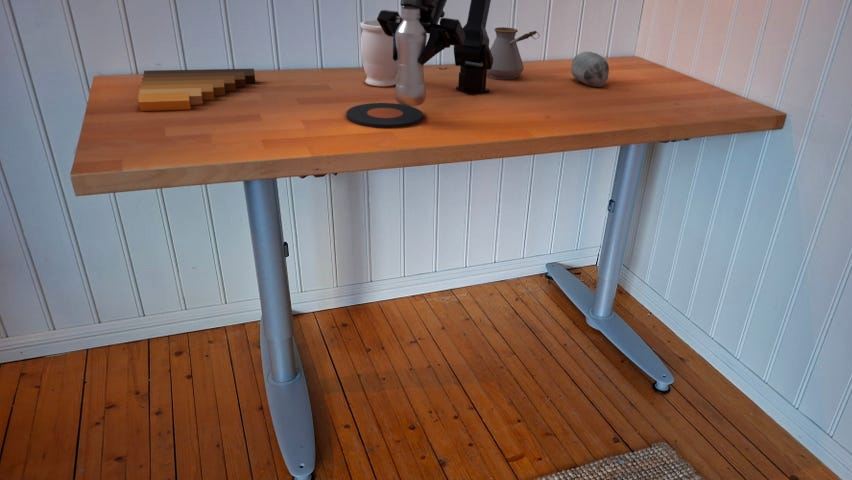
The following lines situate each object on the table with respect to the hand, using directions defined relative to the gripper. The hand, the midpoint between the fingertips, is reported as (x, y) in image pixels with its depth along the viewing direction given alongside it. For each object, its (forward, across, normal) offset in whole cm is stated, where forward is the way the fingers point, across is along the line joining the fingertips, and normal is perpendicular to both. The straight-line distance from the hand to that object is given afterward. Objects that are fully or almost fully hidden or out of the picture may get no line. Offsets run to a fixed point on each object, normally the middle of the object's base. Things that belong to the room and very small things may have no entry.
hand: (407, 61), depth 142 cm
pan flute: (+15, -50, +4) cm, 53 cm away
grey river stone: (-35, +23, +55) cm, 69 cm away
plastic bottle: (+6, 0, +8) cm, 10 cm away
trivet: (+8, -7, +11) cm, 15 cm away
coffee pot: (-27, +4, +47) cm, 54 cm away
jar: (-10, -23, +29) cm, 38 cm away
